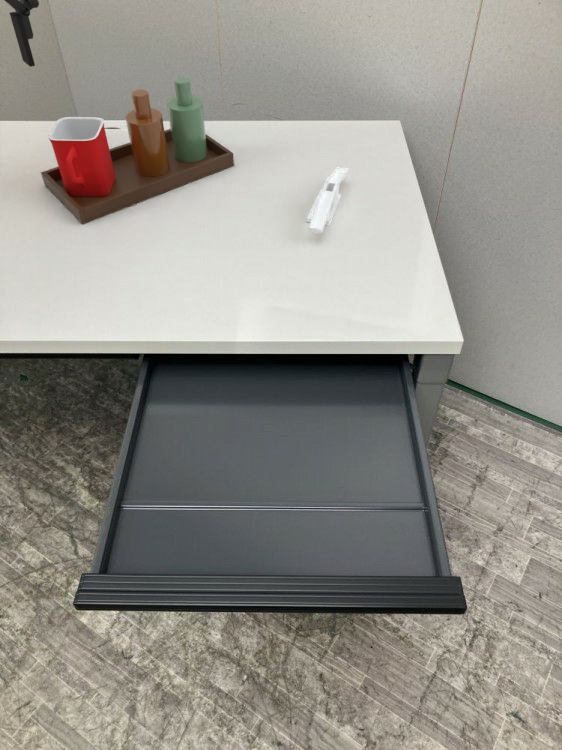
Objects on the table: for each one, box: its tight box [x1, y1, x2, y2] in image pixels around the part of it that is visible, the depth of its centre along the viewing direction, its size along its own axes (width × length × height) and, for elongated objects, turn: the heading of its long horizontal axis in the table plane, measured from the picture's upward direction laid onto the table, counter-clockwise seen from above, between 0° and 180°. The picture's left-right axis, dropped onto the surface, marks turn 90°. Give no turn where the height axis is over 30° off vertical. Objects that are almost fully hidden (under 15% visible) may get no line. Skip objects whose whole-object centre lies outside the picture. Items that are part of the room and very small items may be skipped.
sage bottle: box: [166, 76, 207, 162], centre depth 110 cm, size 6×6×14 cm
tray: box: [40, 128, 235, 225], centre depth 110 cm, size 32×16×3 cm, turn 128°
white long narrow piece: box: [305, 166, 350, 234], centre depth 102 cm, size 4×20×5 cm, turn 163°
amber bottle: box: [124, 89, 170, 177], centre depth 106 cm, size 6×6×14 cm
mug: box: [47, 116, 115, 197], centre depth 102 cm, size 12×8×11 cm
